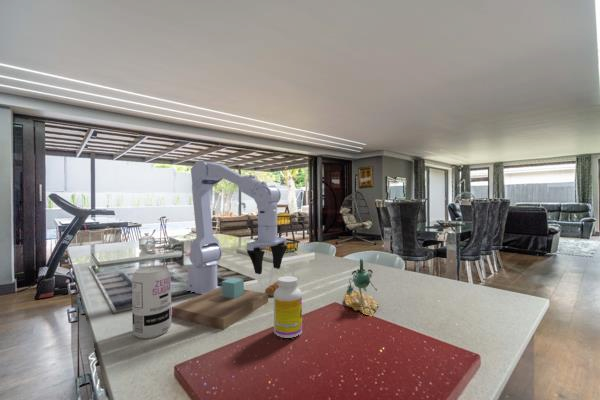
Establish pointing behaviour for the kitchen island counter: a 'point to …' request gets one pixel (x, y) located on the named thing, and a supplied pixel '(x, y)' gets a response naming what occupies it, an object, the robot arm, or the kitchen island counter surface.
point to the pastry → (272, 289)
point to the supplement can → (151, 301)
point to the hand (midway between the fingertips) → (267, 270)
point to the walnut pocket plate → (219, 308)
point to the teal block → (232, 288)
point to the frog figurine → (357, 298)
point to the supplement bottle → (287, 308)
